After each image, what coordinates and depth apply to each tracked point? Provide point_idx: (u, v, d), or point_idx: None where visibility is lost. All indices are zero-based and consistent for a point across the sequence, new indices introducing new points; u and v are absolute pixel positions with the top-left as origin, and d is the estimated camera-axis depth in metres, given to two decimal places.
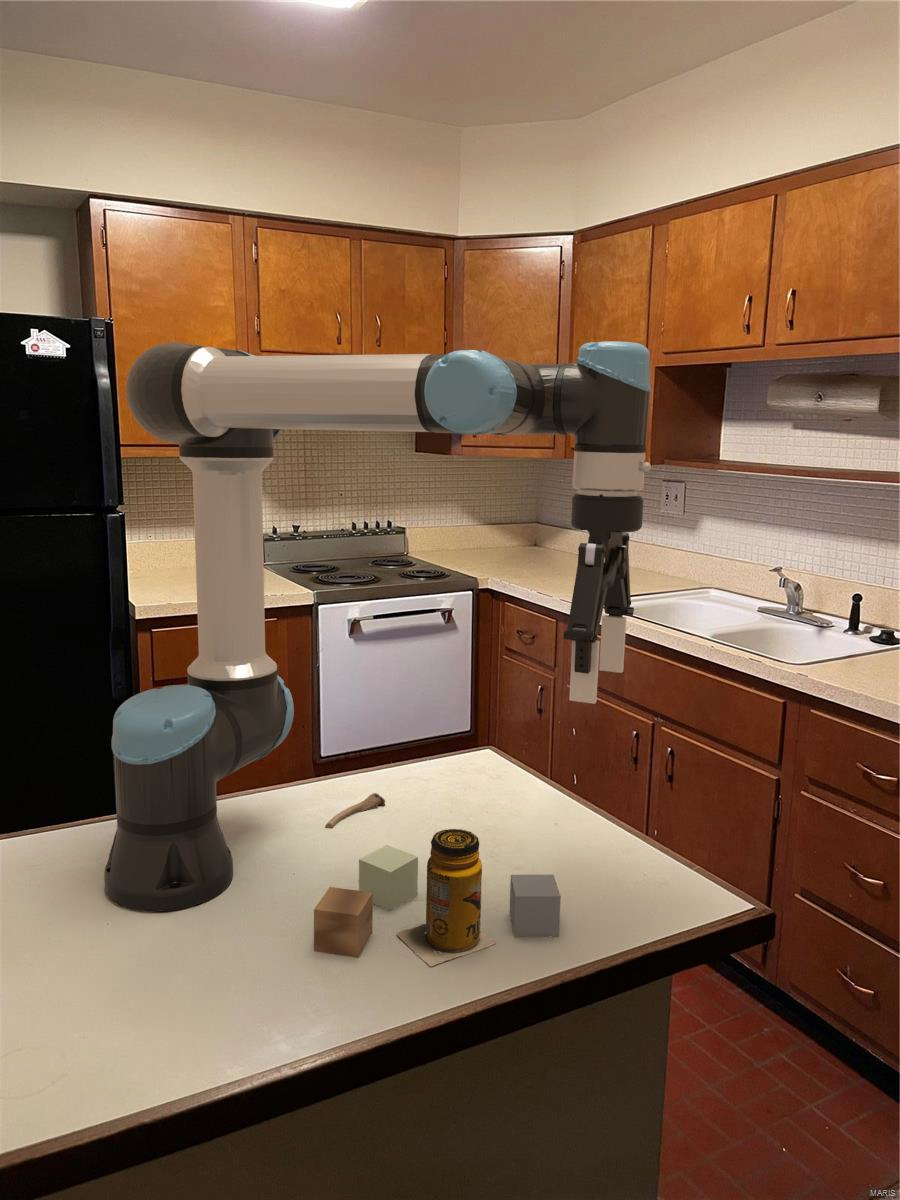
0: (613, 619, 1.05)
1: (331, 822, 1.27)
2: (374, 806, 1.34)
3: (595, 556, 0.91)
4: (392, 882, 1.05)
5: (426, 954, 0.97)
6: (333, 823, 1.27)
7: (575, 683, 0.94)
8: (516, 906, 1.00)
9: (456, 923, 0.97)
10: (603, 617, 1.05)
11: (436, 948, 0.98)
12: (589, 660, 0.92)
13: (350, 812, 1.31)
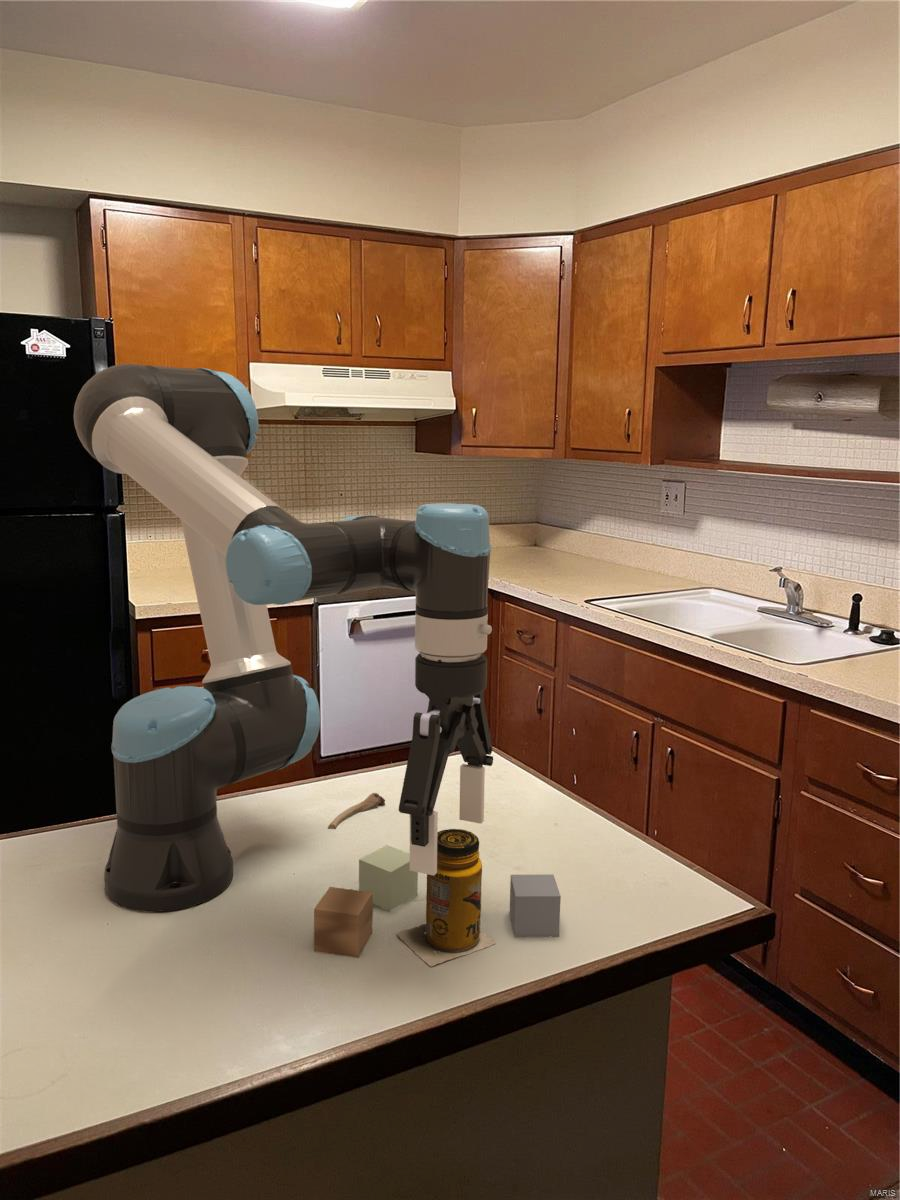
0: (471, 769, 1.02)
1: (334, 823, 1.27)
2: (374, 806, 1.34)
3: (429, 727, 0.88)
4: (392, 882, 1.05)
5: (426, 954, 0.97)
6: (335, 824, 1.27)
7: (414, 854, 0.91)
8: (516, 906, 1.00)
9: (456, 923, 0.97)
10: (461, 767, 1.03)
11: (436, 948, 0.98)
12: (426, 833, 0.90)
13: (351, 812, 1.31)
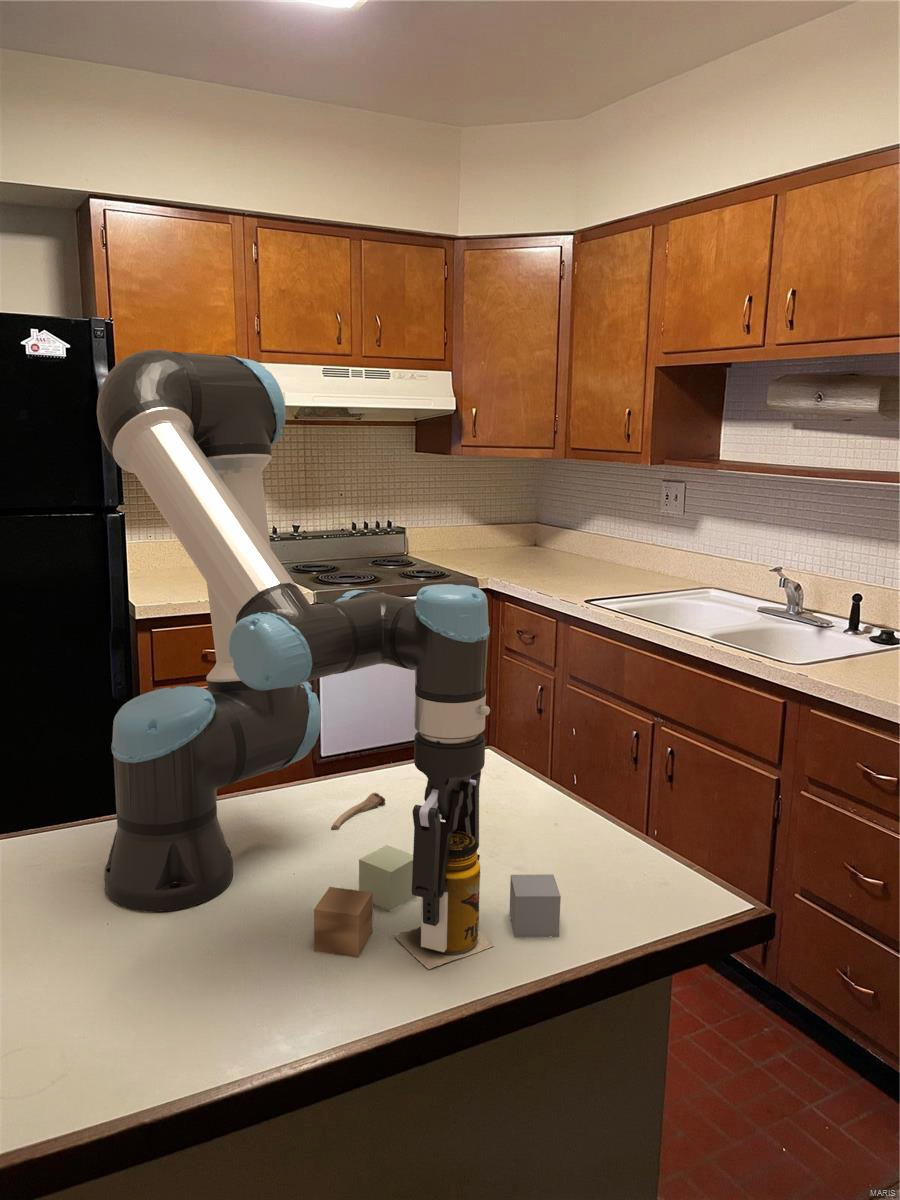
0: None
1: (337, 824, 1.27)
2: (375, 806, 1.34)
3: (429, 822, 0.91)
4: (393, 882, 1.05)
5: (424, 956, 0.96)
6: (338, 824, 1.27)
7: (425, 931, 0.96)
8: (516, 906, 1.00)
9: (454, 925, 0.96)
10: None
11: (435, 950, 0.97)
12: (437, 913, 0.95)
13: (353, 813, 1.31)
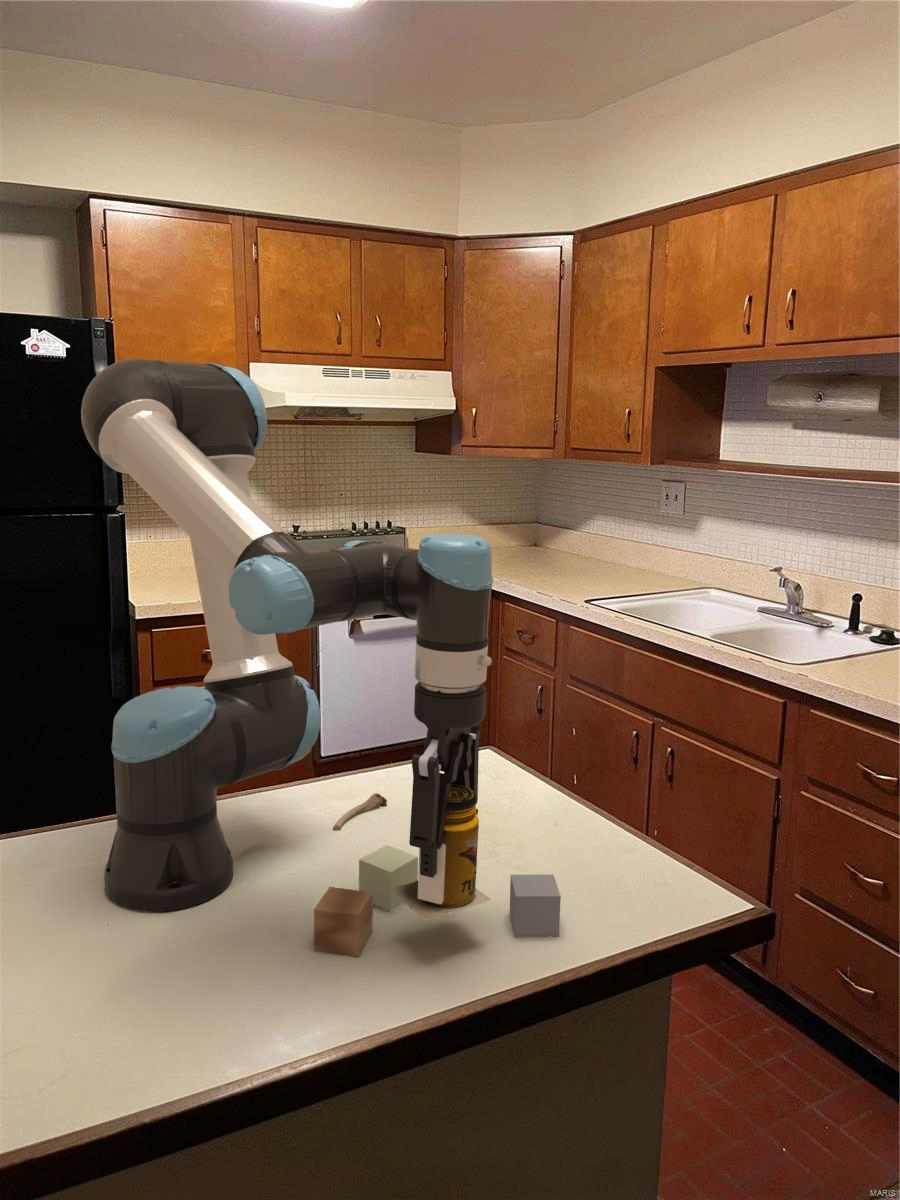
0: None
1: (338, 824, 1.27)
2: (376, 806, 1.34)
3: (428, 771, 0.90)
4: (393, 882, 1.05)
5: (421, 909, 0.96)
6: (340, 825, 1.27)
7: (422, 883, 0.96)
8: (516, 906, 1.00)
9: (451, 878, 0.95)
10: None
11: (431, 903, 0.97)
12: (434, 864, 0.94)
13: (354, 813, 1.31)
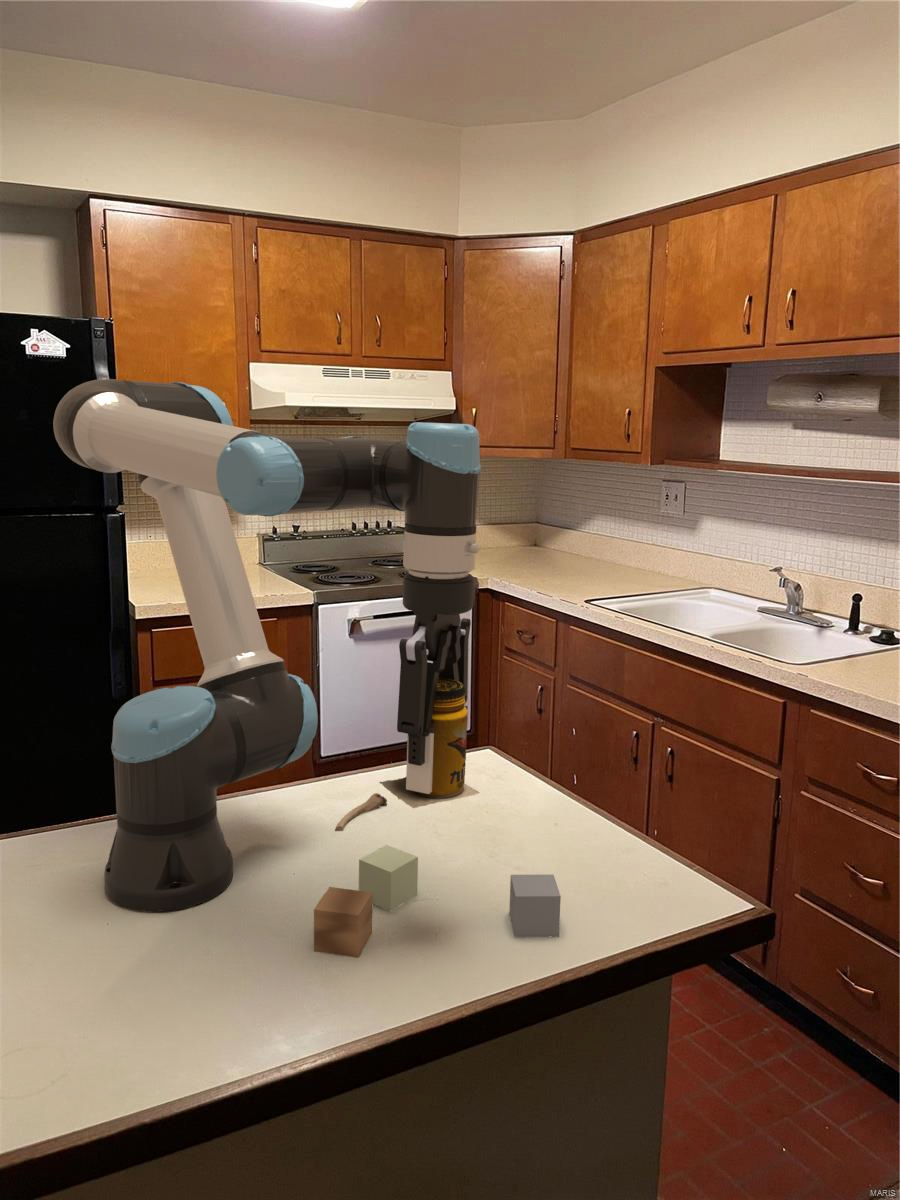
0: None
1: (341, 825, 1.27)
2: (377, 806, 1.34)
3: (415, 654, 0.90)
4: (393, 882, 1.05)
5: (410, 799, 0.96)
6: (342, 825, 1.27)
7: (411, 773, 0.96)
8: (516, 906, 1.00)
9: (440, 768, 0.96)
10: None
11: (420, 794, 0.97)
12: (422, 753, 0.94)
13: (355, 814, 1.31)
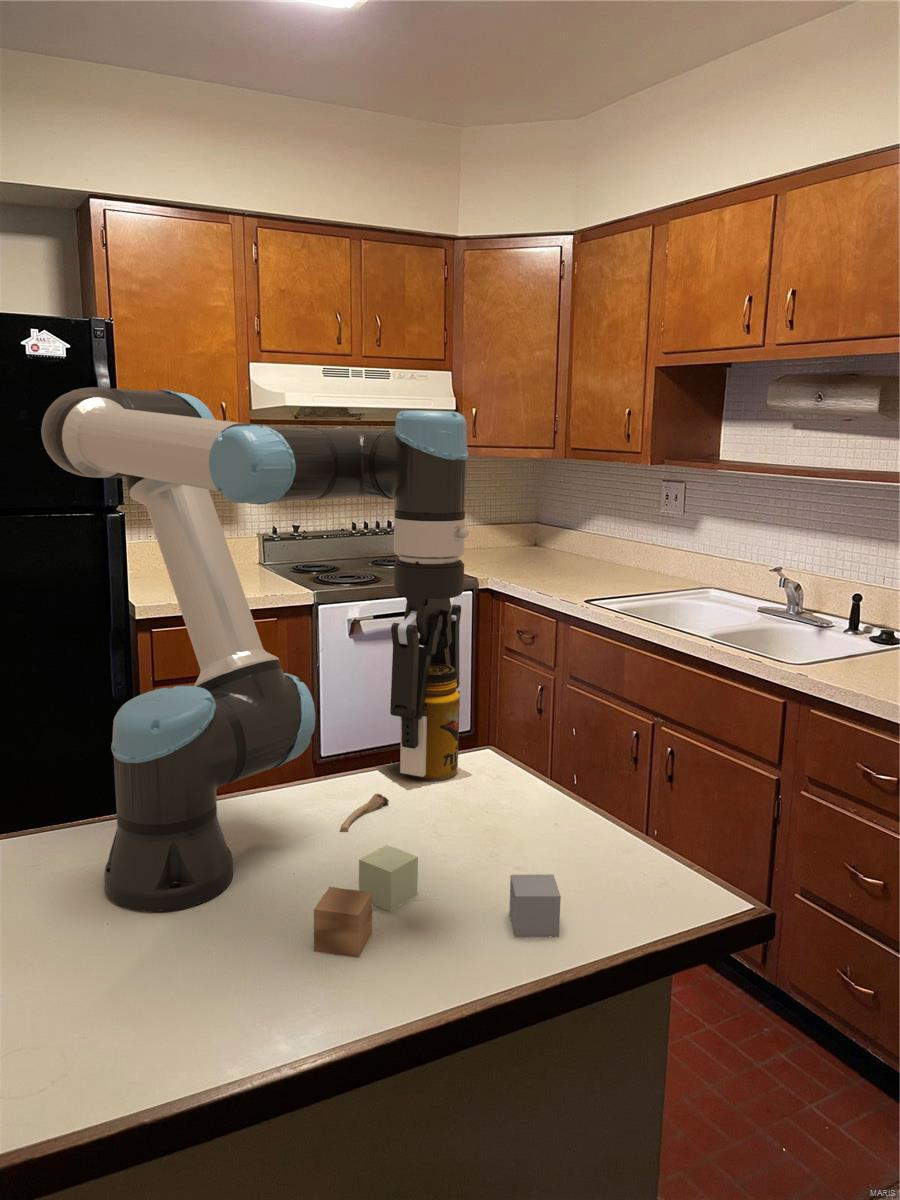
0: None
1: (345, 826, 1.26)
2: (379, 807, 1.34)
3: (407, 638, 0.92)
4: (393, 882, 1.05)
5: (404, 782, 0.97)
6: (347, 827, 1.26)
7: (405, 756, 0.97)
8: (516, 906, 1.00)
9: (433, 751, 0.97)
10: None
11: (414, 778, 0.98)
12: (415, 736, 0.96)
13: (359, 814, 1.31)
